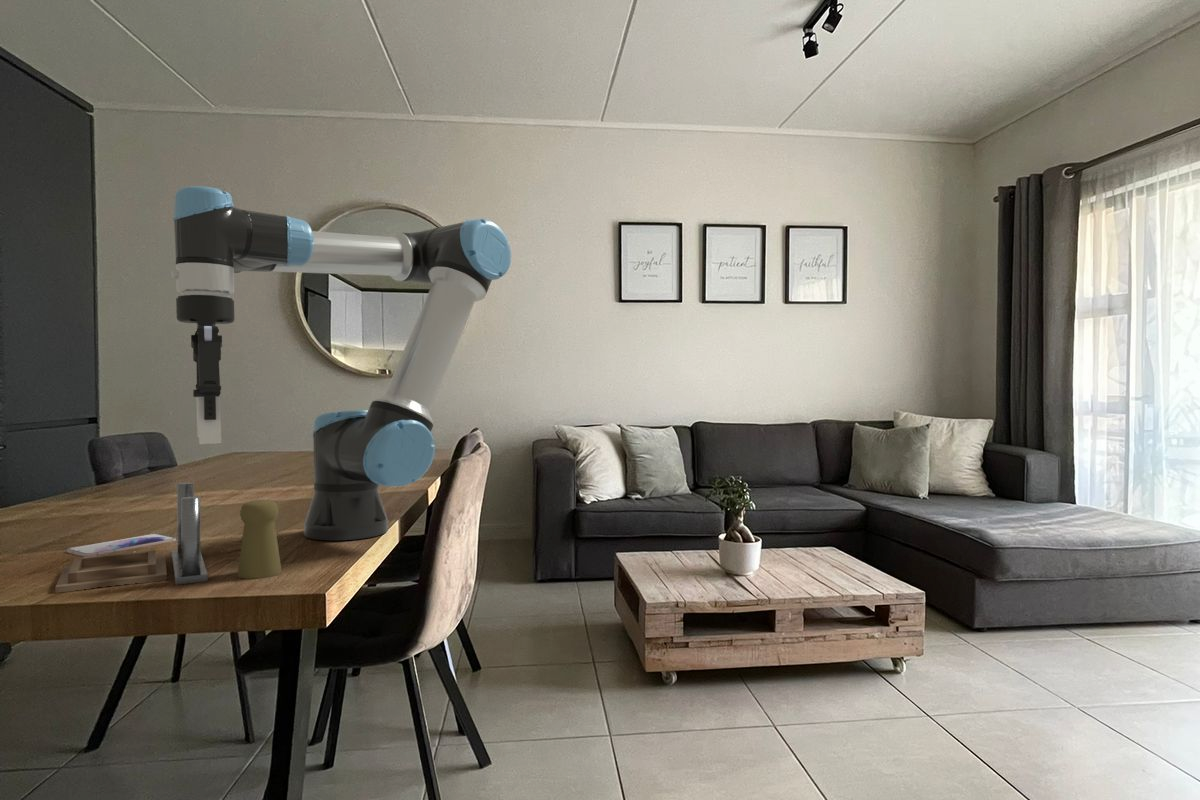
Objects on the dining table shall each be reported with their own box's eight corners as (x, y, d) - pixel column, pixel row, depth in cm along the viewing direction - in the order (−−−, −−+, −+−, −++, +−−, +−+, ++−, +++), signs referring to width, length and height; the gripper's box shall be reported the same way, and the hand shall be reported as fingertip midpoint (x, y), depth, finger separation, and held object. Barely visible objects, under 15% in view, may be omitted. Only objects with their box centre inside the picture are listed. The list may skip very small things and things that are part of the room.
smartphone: (177, 538, 133) (86, 554, 120) (177, 543, 133) (86, 559, 120) (155, 533, 137) (64, 548, 124) (155, 538, 137) (64, 553, 124)
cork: (228, 575, 109) (228, 501, 109) (263, 566, 115) (263, 496, 114) (255, 580, 107) (255, 505, 106) (290, 571, 112) (290, 499, 112)
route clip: (199, 553, 123) (198, 481, 123) (207, 581, 106) (207, 498, 106) (171, 556, 121) (171, 483, 121) (175, 584, 104) (174, 500, 104)
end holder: (165, 561, 118) (164, 547, 118) (166, 580, 106) (166, 565, 106) (64, 571, 111) (64, 557, 111) (55, 593, 100) (55, 576, 100)
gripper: (176, 302, 117) (179, 435, 118) (175, 285, 95) (179, 448, 96) (229, 304, 121) (231, 433, 122) (239, 288, 99) (243, 445, 100)
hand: (208, 440), depth 109 cm, fingers open, 13 cm apart
